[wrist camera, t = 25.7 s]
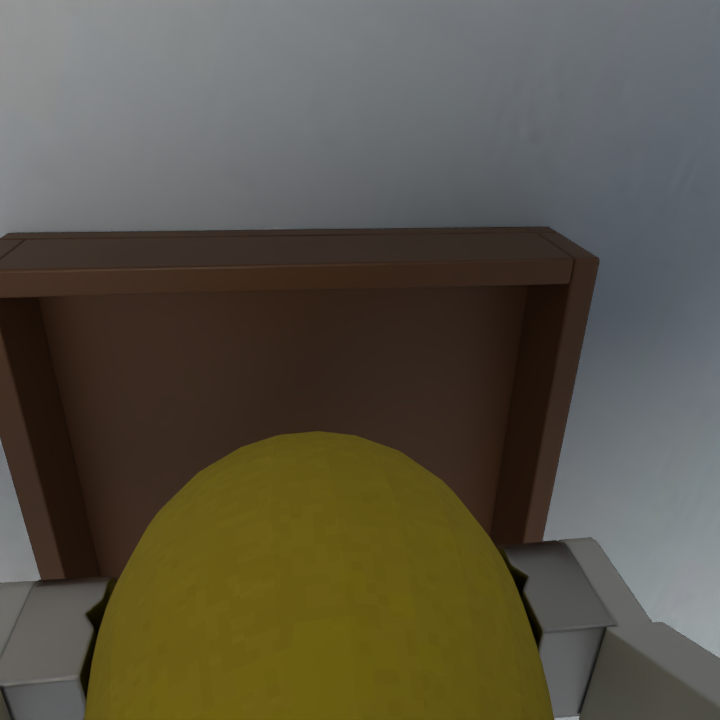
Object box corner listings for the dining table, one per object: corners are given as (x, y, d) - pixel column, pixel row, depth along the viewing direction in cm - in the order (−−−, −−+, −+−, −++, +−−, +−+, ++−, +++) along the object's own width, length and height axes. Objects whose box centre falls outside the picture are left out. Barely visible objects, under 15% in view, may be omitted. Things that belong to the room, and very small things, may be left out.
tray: (549, 225, 16) (601, 258, 13) (477, 669, 24) (502, 742, 21) (6, 232, 14) (-50, 270, 12) (120, 708, 22) (101, 791, 19)
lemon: (343, 615, 13) (433, 1255, 6) (96, 525, 11) (-180, 1313, 4) (503, 428, 12) (872, 1016, 5) (245, 285, 10) (195, 930, 3)
